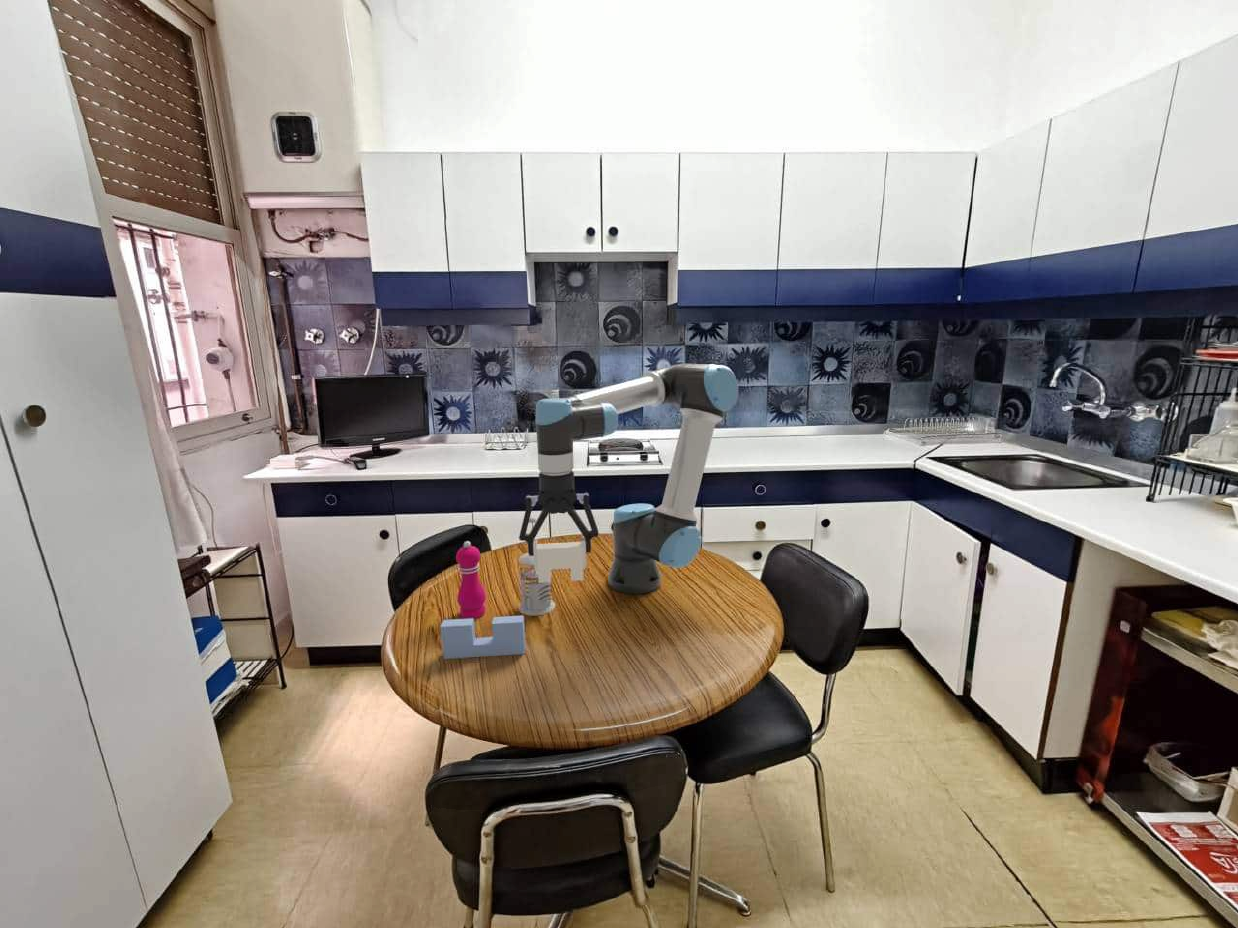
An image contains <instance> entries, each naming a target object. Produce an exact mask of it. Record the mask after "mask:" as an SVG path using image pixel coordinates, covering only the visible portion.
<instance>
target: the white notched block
mask: <svg viewBox="0 0 1238 928" xmlns="http://www.w3.org/2000/svg"><path fill="white" fill-rule="evenodd" d="M537 564H538V582H539V583H545V582H550V583H552V571H553V570H569V569H570V579H571V580H570V581H571V582H575V581H584V580H585V579H584V568H583V549H582V541H570V542H557V543H556V542H553V543H552V542H551V543H550V542H549V543H537Z"/></svg>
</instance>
